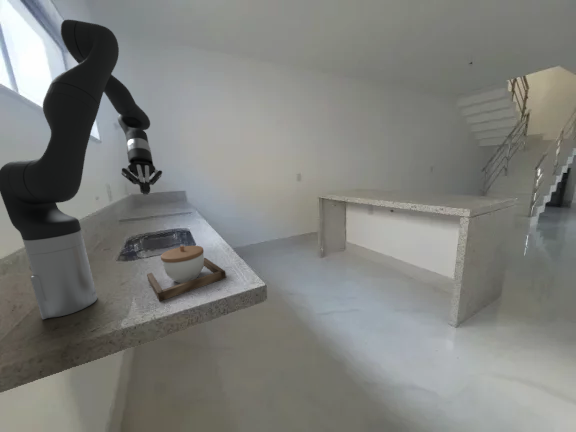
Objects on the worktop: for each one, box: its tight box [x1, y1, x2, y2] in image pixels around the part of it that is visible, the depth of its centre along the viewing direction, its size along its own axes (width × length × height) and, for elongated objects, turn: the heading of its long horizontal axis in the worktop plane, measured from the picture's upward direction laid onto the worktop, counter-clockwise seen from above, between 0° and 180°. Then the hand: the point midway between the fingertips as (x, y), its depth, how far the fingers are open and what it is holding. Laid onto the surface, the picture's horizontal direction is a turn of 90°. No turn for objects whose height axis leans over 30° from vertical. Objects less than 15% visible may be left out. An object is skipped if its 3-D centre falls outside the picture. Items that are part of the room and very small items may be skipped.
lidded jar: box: [160, 245, 205, 284], centre depth 65 cm, size 11×11×9 cm
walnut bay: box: [146, 257, 227, 302], centre depth 65 cm, size 16×15×2 cm
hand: (146, 193), depth 81 cm, fingers closed
